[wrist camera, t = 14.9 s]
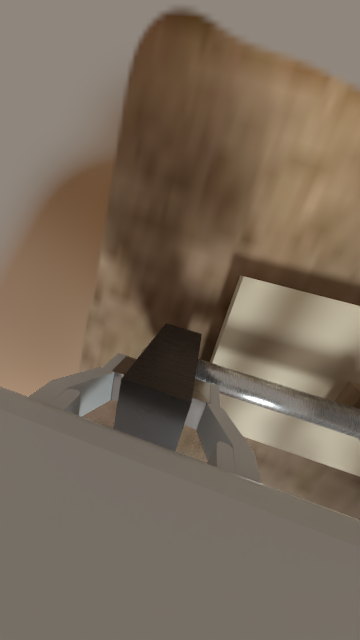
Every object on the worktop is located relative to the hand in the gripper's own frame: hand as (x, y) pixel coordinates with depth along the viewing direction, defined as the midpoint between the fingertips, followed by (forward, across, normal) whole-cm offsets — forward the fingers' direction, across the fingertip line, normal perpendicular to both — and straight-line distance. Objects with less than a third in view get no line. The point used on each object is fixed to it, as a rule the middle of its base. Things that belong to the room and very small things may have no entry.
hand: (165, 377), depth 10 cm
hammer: (+4, -6, 0) cm, 8 cm away
